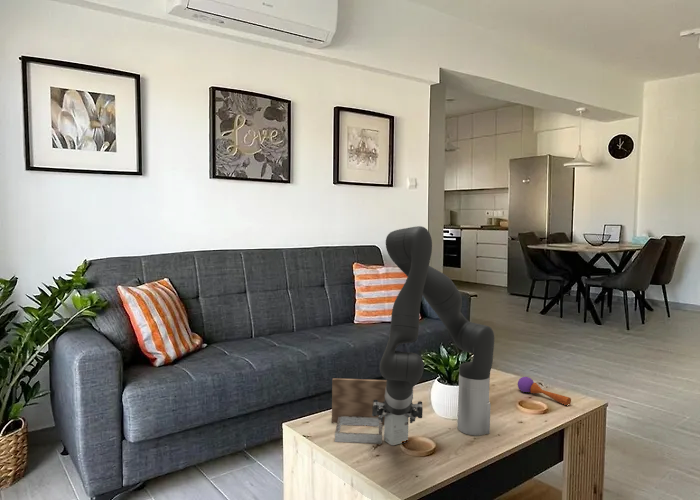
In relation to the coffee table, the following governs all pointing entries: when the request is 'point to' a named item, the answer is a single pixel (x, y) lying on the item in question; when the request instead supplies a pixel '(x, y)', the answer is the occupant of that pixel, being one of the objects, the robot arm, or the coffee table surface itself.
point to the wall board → (356, 397)
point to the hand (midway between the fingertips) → (396, 419)
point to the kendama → (540, 390)
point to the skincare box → (395, 429)
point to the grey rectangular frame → (358, 436)
